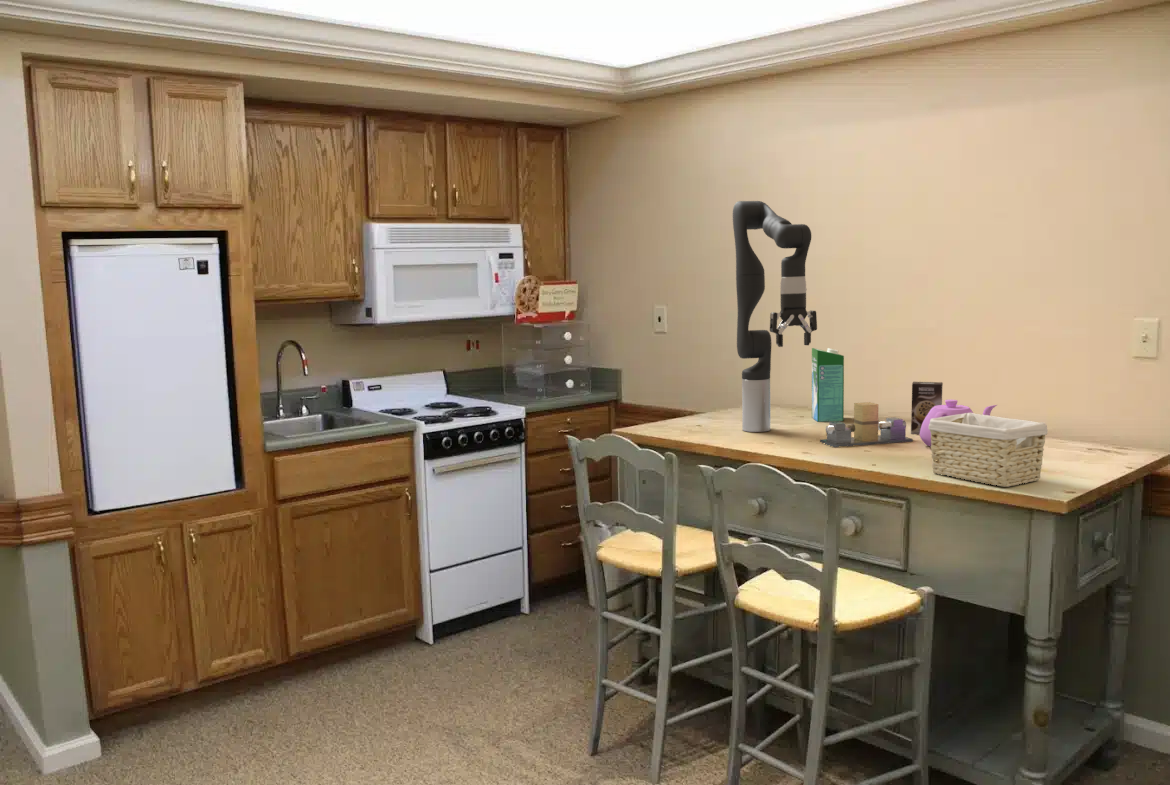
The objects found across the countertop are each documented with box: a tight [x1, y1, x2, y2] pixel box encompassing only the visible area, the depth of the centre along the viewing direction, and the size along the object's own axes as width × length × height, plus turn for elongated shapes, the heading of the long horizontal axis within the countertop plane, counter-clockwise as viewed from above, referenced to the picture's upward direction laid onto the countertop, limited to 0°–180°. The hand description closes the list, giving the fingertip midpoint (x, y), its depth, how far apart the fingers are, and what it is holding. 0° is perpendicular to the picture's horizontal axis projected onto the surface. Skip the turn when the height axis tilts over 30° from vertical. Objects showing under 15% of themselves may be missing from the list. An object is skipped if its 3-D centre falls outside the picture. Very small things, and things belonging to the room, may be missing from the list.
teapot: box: [919, 399, 998, 447], centre depth 278 cm, size 22×22×14 cm
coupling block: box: [853, 401, 880, 441], centre depth 290 cm, size 5×5×11 cm
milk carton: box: [811, 347, 845, 423], centre depth 332 cm, size 9×9×25 cm
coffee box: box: [910, 381, 944, 435], centre depth 302 cm, size 9×6×16 cm
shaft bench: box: [819, 416, 914, 448], centre depth 291 cm, size 26×9×7 cm, turn 102°
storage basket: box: [929, 412, 1048, 488], centre depth 240 cm, size 24×16×15 cm
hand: (793, 346), depth 287 cm, fingers open, 8 cm apart
